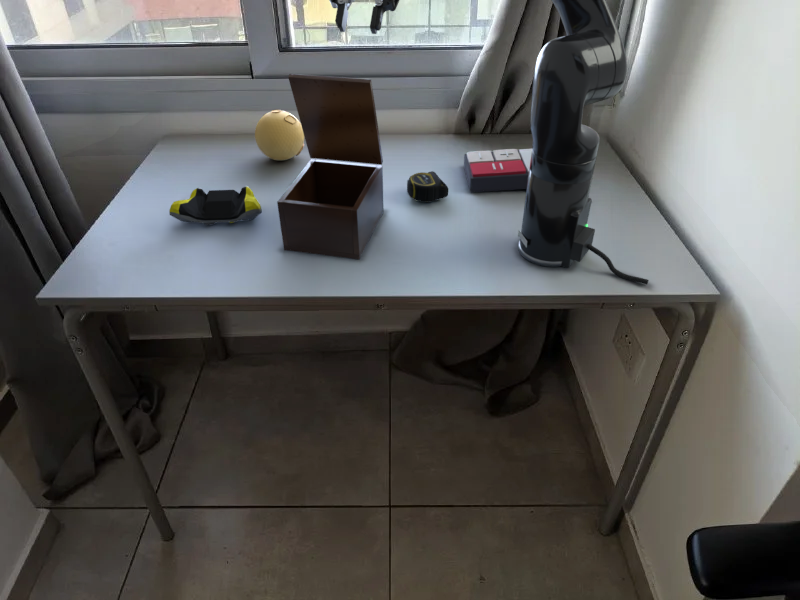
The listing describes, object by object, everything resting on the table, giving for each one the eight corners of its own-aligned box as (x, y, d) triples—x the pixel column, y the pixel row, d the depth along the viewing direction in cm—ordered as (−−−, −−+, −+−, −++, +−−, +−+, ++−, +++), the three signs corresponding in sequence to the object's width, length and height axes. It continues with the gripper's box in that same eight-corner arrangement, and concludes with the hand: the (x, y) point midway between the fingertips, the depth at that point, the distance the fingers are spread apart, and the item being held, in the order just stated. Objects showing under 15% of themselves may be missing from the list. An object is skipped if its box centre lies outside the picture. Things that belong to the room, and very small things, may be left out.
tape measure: (449, 202, 113) (450, 184, 111) (413, 208, 112) (414, 189, 109) (436, 186, 118) (436, 168, 116) (402, 191, 117) (402, 173, 115)
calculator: (463, 149, 123) (539, 144, 123) (463, 169, 125) (537, 164, 125) (470, 174, 114) (552, 169, 114) (470, 195, 117) (549, 190, 117)
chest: (359, 259, 99) (356, 210, 93) (283, 250, 101) (276, 201, 95) (383, 211, 111) (382, 165, 105) (315, 204, 113) (311, 158, 108)
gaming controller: (262, 233, 105) (268, 204, 113) (257, 204, 102) (264, 177, 110) (172, 236, 104) (184, 207, 112) (164, 207, 101) (177, 179, 109)
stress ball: (298, 170, 124) (293, 121, 118) (251, 167, 126) (244, 119, 119) (312, 149, 132) (307, 103, 126) (267, 147, 133) (261, 101, 127)
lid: (370, 82, 91) (371, 79, 91) (288, 77, 93) (289, 73, 94) (382, 164, 105) (383, 161, 105) (310, 158, 107) (311, 154, 108)
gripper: (326, -81, 102) (309, 14, 100) (411, -79, 100) (395, 19, 98) (338, -50, 110) (322, 40, 108) (418, -47, 107) (402, 45, 105)
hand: (357, 29), depth 103 cm, fingers open, 5 cm apart
